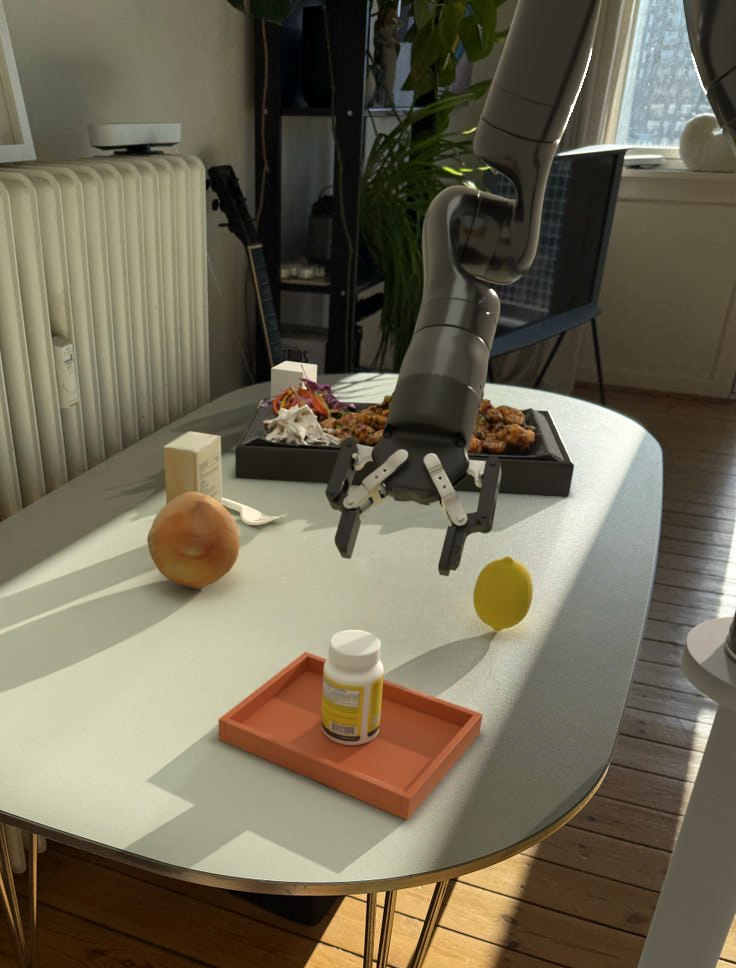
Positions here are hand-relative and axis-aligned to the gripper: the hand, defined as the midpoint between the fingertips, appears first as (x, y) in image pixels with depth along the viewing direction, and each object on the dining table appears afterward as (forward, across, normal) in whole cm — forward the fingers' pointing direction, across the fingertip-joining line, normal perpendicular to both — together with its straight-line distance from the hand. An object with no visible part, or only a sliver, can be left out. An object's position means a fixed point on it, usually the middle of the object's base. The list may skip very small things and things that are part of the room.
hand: (393, 563), depth 78 cm
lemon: (-1, +8, +18) cm, 20 cm away
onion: (0, -24, +16) cm, 29 cm away
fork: (-14, -30, +31) cm, 46 cm away
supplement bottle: (+14, 0, +2) cm, 15 cm away
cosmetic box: (-7, -29, +24) cm, 38 cm away
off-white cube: (-50, -40, +66) cm, 92 cm away
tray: (+15, 0, +2) cm, 15 cm away
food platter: (-34, -15, +51) cm, 63 cm away
